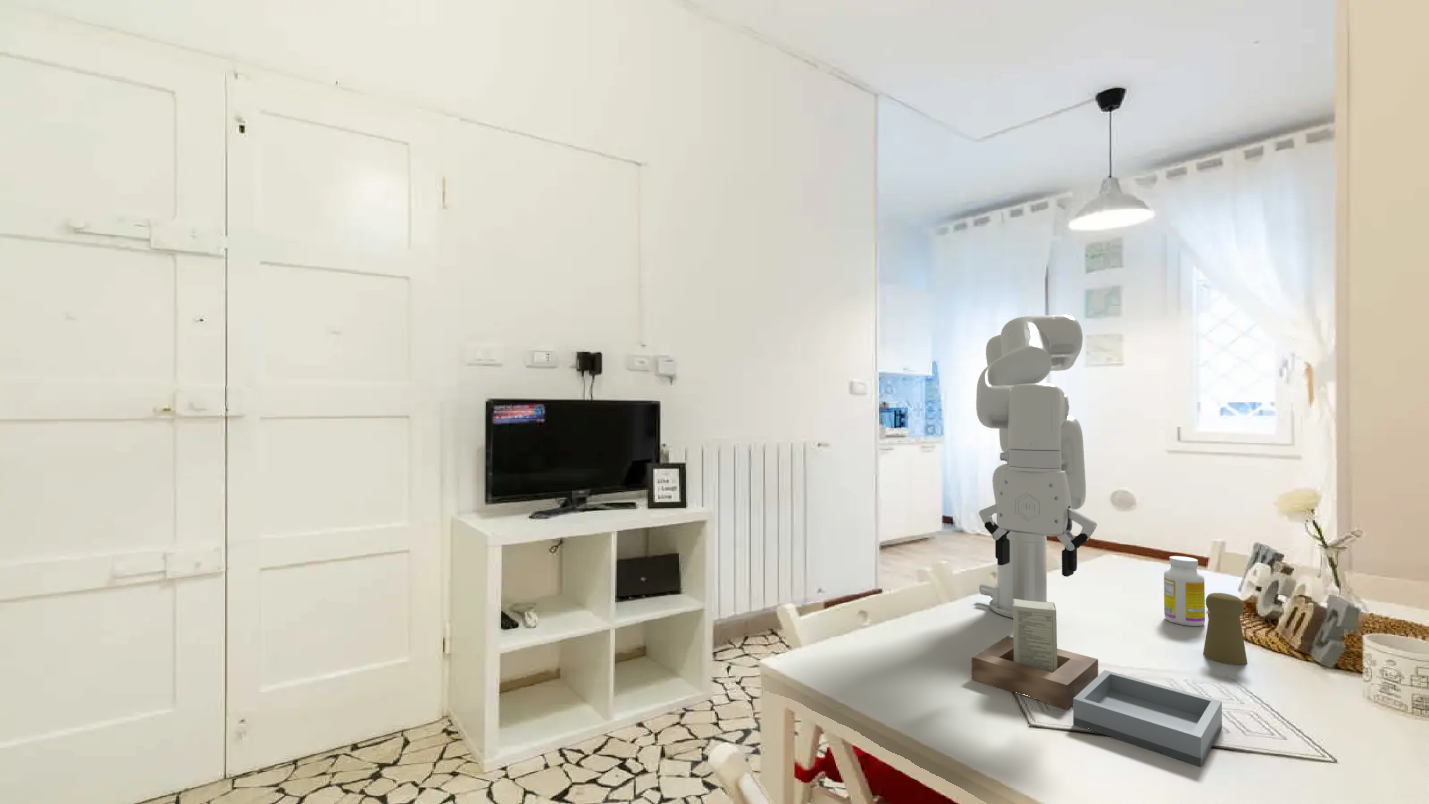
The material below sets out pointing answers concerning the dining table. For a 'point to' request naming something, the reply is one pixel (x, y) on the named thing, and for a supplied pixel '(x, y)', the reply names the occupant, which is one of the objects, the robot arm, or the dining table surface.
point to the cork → (1225, 630)
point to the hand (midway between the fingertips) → (1034, 569)
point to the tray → (1150, 716)
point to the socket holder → (1035, 674)
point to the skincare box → (1035, 634)
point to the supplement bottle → (1184, 592)
